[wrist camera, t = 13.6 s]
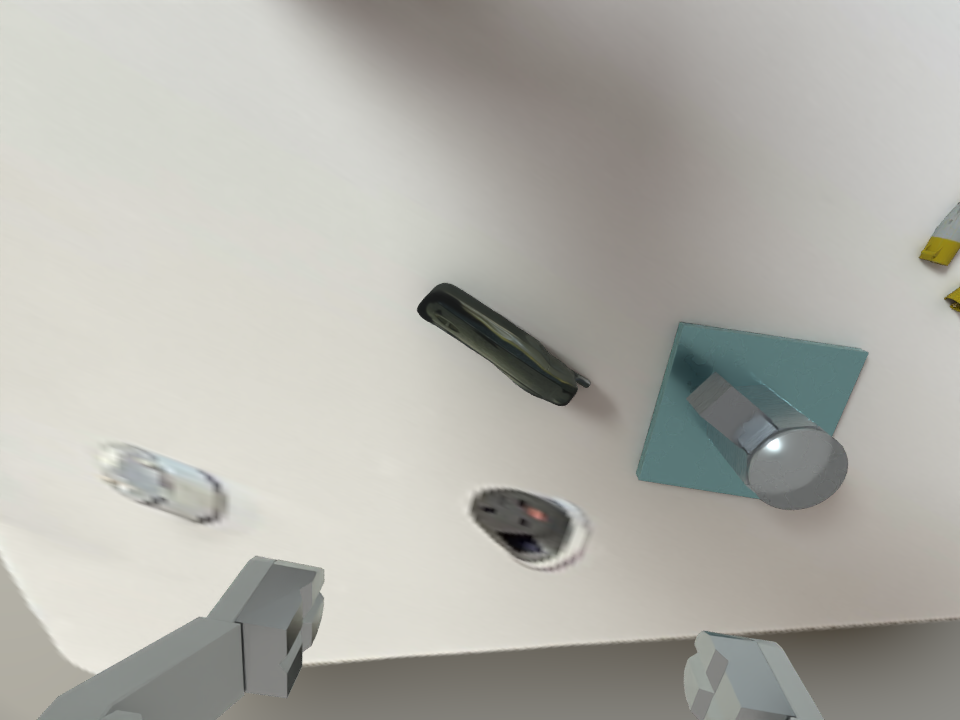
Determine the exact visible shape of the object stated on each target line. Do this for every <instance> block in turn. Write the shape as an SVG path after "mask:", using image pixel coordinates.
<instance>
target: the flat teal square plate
mask: <svg viewBox="0 0 960 720" xmlns="http://www.w3.org/2000/svg"><path fill="white" fill-rule="evenodd" d="M867 356H868V352H866V351H864V350H862V349H859V348H852V347H846V346H839V345H832V344H825V343H819V342H812V341H805V340H798V339H792V338H785V337H778V336H771V335H765V334H758V333H751V332H744V331H738V330H731V329H724V328H717V327H711V326H704V325H697V324H690V323H684V322H680V323H679V326H678V330H677V333H676V337H675V340H674V344H673V347H672V351H671V354H670V358H669V361H668V364H667V368H666V371H665V375H664V378H663V382H662V385H661V389H660V392H659V396H658V399H657V403H656V406H655V410H654V413H653V417H652V420H651V423H650V427H649V430H648V434H647V437H646V441H645V444H644V448H643V451H642V455H641V458H640V462H639V465H638V469H637V472H636V475H637V477H638V479H639V480H642V481H648V482H655V483H661V484H667V485H674V486H680V487H687V488H693V489H699V490H706V491H712V492H718V493H725V494H731V495H737V496H744V497H750V498H756V499H760V498H759V497H758V496H757V495H756V493H754V492H753V491H752V490H751V489H749V488H748V487H747V486H746V485H745V484H744V482H743V481H742V480H741V479H740V477H739V476H738V475H737V474H736V472H735V471H734V470H733V468H732V467H731V466H730V465H729V463H728V462H727V461H726V460H725V458H724V457H723V456H722V454H721V453H720V452H719V451H718V449H717V448H716V447H715V446H714V444H713V443H712V442H711V441H710V439H709V438H708V436H707V421H706V420H705V419H704V418H702V417H701V416H700V415H699V414H698V413H697V411H696V410H695V409H694V408H693V407H692V405H691V404H690V403H689V402H688V401H687V399H686V398H687V397H688V396H689V395H690V394H691V393H692V392H693V391H694V390H696V389H697V388H698V387H699V386H700V385H701V384H702V383H703V382H704V381H705V380H706V379H707V378H708V377H709V376H710V375H712V374H713V373H714V372H715V371H716V372H717V373H718V374H719V375H720V376H721V377H723V378H724V379H725V380H726V381H727V382H729V383H730V384H731V385H732V386H733V387H738V386H751V385H766V386H767V387H769V388H770V389H771V390H773V391H774V392H775V393H777V394H778V395H779V396H780V397H782V398H783V399H784V400H786V401H787V402H788V403H790V404H791V405H792V406H794V407H795V408H796V409H797V410H799V411H800V412H801V413H803V414H804V415H805V416H807V417H808V418H809V419H811V420H812V421H813V422H814V423H816V424H817V425H818V426H820V427H821V428H822V429H823V430H824V431H825V432H827V433H828V434H829V435H830V436H831V437H832V435H833V433H834V431H835V428H836V426H837V424H838V421H839V419H840V417H841V415H842V412H843V410H844V408H845V406H846V403H847V401H848V399H849V396H850V394H851V392H852V390H853V387H854V385H855V383H856V381H857V378H858V376H859V374H860V371H861V369H862V367H863V365H864V362H865V360H866V358H867Z"/></svg>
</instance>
